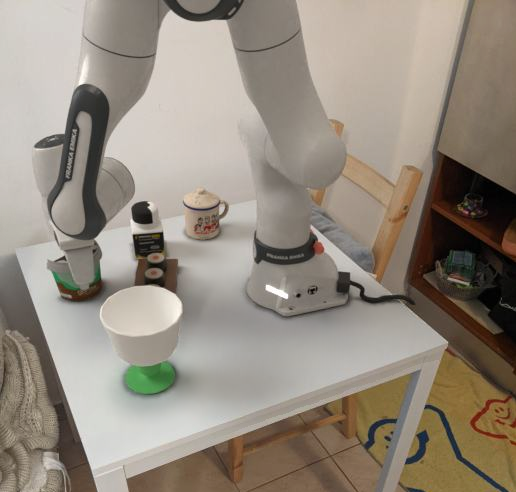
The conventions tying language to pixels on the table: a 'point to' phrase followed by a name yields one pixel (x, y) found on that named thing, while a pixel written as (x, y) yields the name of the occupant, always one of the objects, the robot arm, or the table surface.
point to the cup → (144, 334)
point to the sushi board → (167, 274)
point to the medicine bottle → (146, 229)
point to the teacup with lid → (203, 213)
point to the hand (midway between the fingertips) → (81, 277)
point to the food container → (67, 283)
